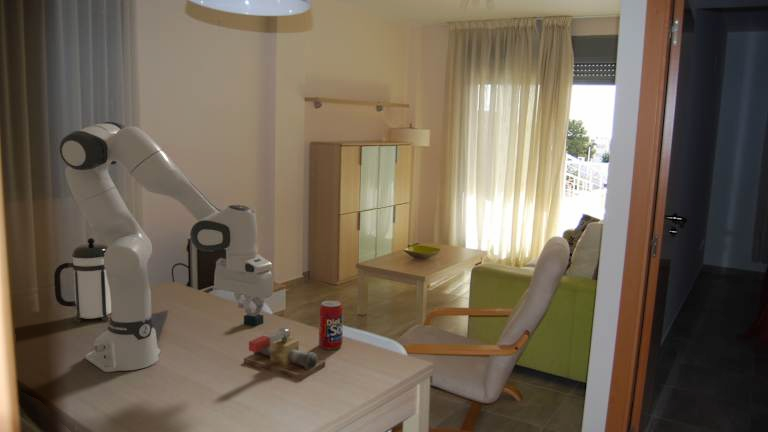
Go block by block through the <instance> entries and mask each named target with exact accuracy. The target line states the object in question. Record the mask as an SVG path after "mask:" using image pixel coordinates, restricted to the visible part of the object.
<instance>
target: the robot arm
mask: <svg viewBox="0 0 768 432" xmlns="http://www.w3.org/2000/svg"><path fill="white" fill-rule="evenodd" d="M59 155H60V157H61V160H62V161H63V162H64V163H65V165H66V168H65V172H64V173H65V178H66V181H67V184H68V186H69V188H70V191H71V193H72V194H71V195H72V196H73V198H74V199H75V202H76V203H77V205H78V207H79V209H80V211H81V212H82V214H83V216H84V218H85V219H86V221H87V223H88V224H89V227H90V228H91V229H92V230H94V232H96V234H97V235H98V237H100V238H101V239H102V240H103V242H104V243H105V245H106V246H107V247H108V248H107V250H106V252H105V255H104V267H105V269H106V275H107V280H108V285H109V289H110V297H111V313H110V314H111V315H110V317H108V318H107V319H109V320H108V321H106V323H108V326H107V329H106V330H105V331H103V333H101V334H100V335H98V336H97V337H96V338H95V340H94V344H93V350H92V351H90V352H88V353H87V354H86V355H85V360H87V361H88V362H90V363H92V365H94V366H95V367H96V368H99V369H100V370H101V371H102V372H104V373H113V372H117V371H118V372H120V371H121V372H122V371H126V372H127V371H135V370H136V371H137V370H141V369H144V368H148V367H150V366H152V365H154V364H156V363H157V362H158V361H159V359H160V357H159V355H160V354H161V348H159V346H158V341H157V332H156V329H155V328H154V321H155V320H154V314H153V313H152V293H151V292H152V291H151V287H150V283H149V282H150V281H149V276H148V262H149V260H150V259H151V256H152V254H153V244H152V242H151V241H152V240H151V239H150V238H149V236H148V235H147V234H146V233H145V231H144V229H143V228H142V227H141V225H140V224H139V223H138V222H137V220H136V219H135V218H134V216H133V215H132V213H131V212H130V210H129V207H127V205H126V203H125V202H124V199H123V197H122V195H121V194H120V192H119V191H118V188H117V187H116V185H115V183H114V181H113V180H112V178H111V175H110V173H109V167H110V165H116V164H117V163H118V164H120V165H121V166H122V167H123V168H124V169H125V171H126V172H127V173H128V174H129V175H130V176H131V177H132V179H134V180H135V182H136V183H137V184H139V185H140V186H141V187H142V188H144V189H145V190H146V191H148V192H150V193H153V194H158V195H163V196H167V197H169V198H173V199H174V200H175V201H177V202H178V203H180V204H181V206H183V208H184V209H185V210H186V211H188V212H189V214H190V215H192V216H193V218H194V219H195V220H197V222H195V223H194V225H192V227H191V229H190V235H189V236H190V241H191V243H192V245H193V246H194V247H195V249H197V250H199V251H201V252H206V253H207V252H217V251H221V250H225V254H226V255H225V257H226V258H224V257H220V258H219V259H217V260H216V262H215V269H214V274H213V275H214V279H213V284H214V287H215V289H217V290H220V291H226V292H229V293H233V296H234V298H235V300H236V303H237V308H238V309H242V310H245V309H248V308H249V302H250V300H251V298H252V297H257V298H261V299H264V300H265V299H268V298H271V297H272V296H273V294H274V276H273V273H272V272H271V270H273V269H272V268H273V264H272V262H271V261H269V260H268V259H266V258H265V257H263V256H261V254H259V250H258V245H257V240H258V222H257V221H258V220H257V217H256V213H255V211H254V210H253V209H252V208H251V207H248V206H246V205H241V204H231V205H228V206H227V207H226V208H224V209H223V210H222V209H219V208H218V207H216V206H215V205H213V204H212V203H211V202H210V200H209V199H207V197H205V196H204V194H203V193H202V192H201V191H200V190H199V189H198V187H196V186H195V185H194V184H193V183H192V182H191V181H190V180H189V179H188V178H187V177H186V176H185V174H184V173H183V172H182V171H181V170H180V169H179V167H178V166H177V165H176V164H175V162H174V161H173V160H172V159H171V157H170V156H169V155H168V154H167V153H166V152H165V150H163V148H162V147H161V146H160V145H159V144H158V143H157V142H156V140H154V139H153V138H152V137H151V136H149V135H148V134H147V133H146V132H145V131H144V130H142V129H141V128H139V127H137V126H134V125H130V126H126V125H123V124H122V123H118V122H115V121H114V122H113V121H106V122H102V123H97V124H92V125H89V126H86V127H85V128H82V129H79V130H75V131H72V132H70V133H68V134H67V135H65V136H64V137H63V138H62V139H61V141H60V143H59ZM251 301H252V300H251ZM250 303H251V302H250Z"/></svg>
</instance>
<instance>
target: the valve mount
mask: <svg viewBox="0 0 768 432" xmlns="http://www.w3.org/2000/svg"><path fill="white" fill-rule="evenodd" d="M243 364H247V365H250V366H253V367H256V368H259V369H263V370H266V371H269V372H271V373H272V372H273V373H276V374H279V375H282V376H285V377H289V378H291V379H294V380H298V381H302V380H304V379H306V378H307V377H309V376H311V375H313V374H314V373H316V372H317V371H319V370H321V369H323V368H325V367H326V361H324V360H321V359H318V355H317V353H316V352H313V351H310V352H305V351H302V350H299V340H298V339H295V338H291V337H287V338H282V339H280V340H277V341H275V342H273V343H271V344H270V346H269V347H267V348H265V349H262V350H260V351H258V352H253V353H252V354H250V355H248V356H246V357H244V358H243Z"/></svg>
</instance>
